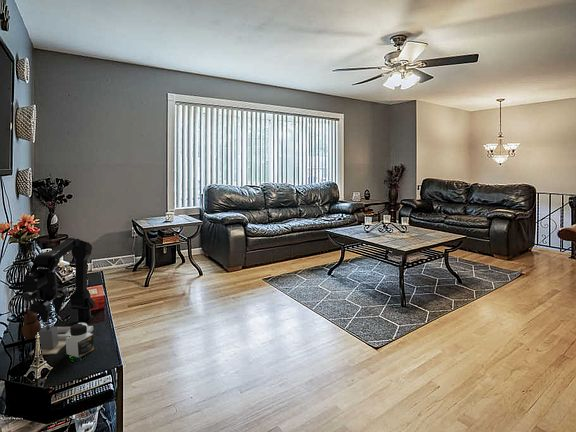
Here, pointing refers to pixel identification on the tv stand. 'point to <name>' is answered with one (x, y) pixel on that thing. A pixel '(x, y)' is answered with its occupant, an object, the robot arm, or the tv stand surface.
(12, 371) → the tv stand surface
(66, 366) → the tv stand surface
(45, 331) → the charger
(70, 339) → the medicine bottle
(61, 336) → the power strip
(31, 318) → the wooden figurine
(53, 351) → the pad
